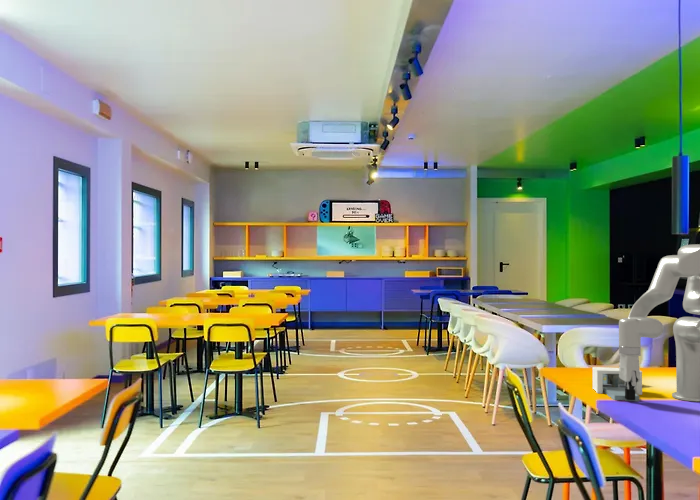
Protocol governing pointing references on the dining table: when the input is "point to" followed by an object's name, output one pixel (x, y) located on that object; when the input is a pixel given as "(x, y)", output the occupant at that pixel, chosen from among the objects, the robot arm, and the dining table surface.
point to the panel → (617, 393)
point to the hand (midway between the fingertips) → (630, 399)
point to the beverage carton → (612, 380)
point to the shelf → (599, 384)
